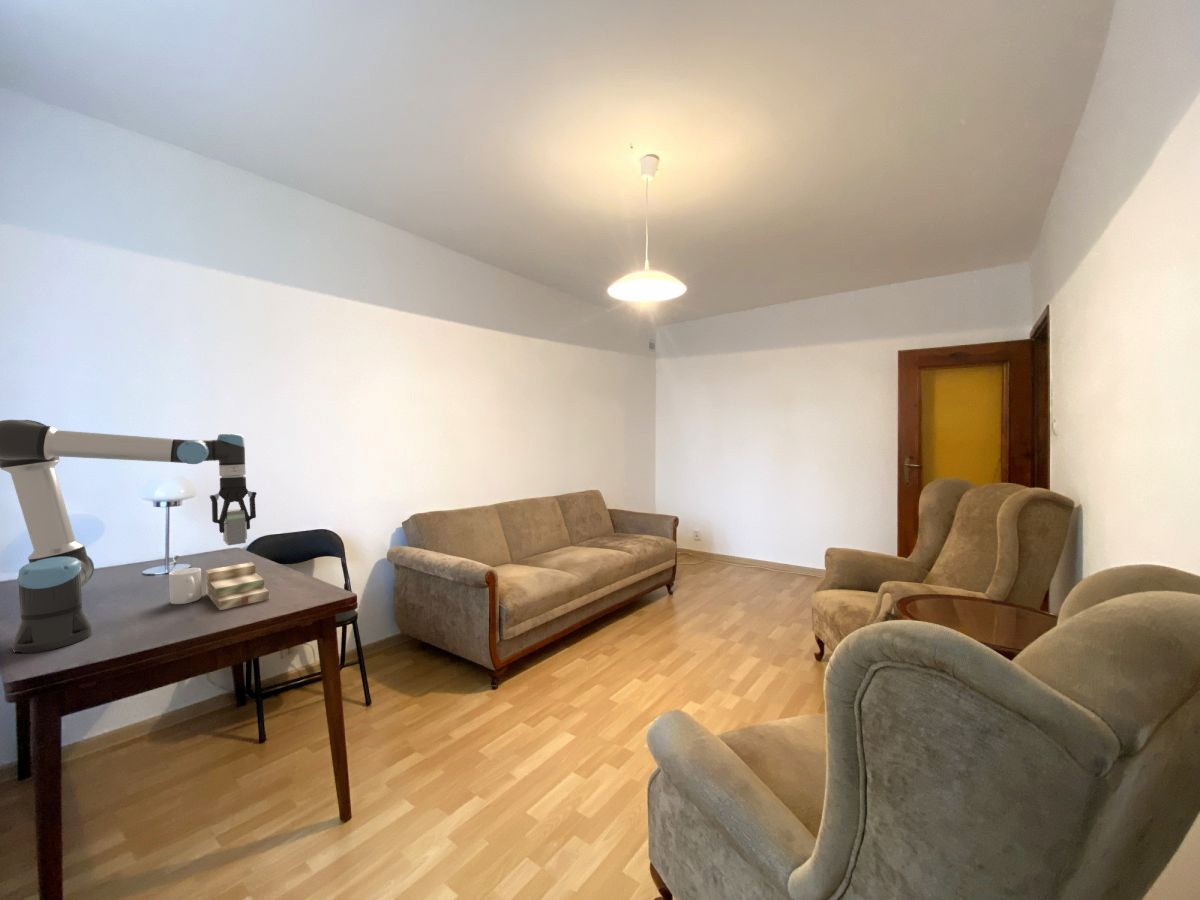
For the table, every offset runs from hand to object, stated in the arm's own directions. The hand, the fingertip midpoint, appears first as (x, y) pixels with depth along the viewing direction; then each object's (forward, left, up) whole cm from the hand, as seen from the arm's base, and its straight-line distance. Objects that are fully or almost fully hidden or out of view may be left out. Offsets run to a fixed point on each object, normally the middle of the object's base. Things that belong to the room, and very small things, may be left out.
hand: (235, 539), depth 173 cm
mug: (-13, +7, -21) cm, 26 cm away
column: (0, 0, -1) cm, 1 cm away
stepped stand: (0, 0, -21) cm, 21 cm away
